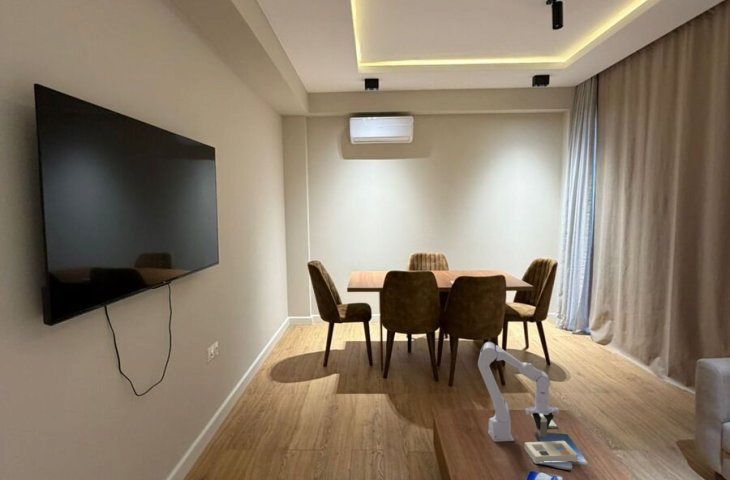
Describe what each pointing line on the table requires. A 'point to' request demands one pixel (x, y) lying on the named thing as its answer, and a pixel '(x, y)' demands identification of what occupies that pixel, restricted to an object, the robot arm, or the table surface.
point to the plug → (542, 427)
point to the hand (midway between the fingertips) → (542, 428)
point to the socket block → (550, 451)
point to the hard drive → (552, 424)
